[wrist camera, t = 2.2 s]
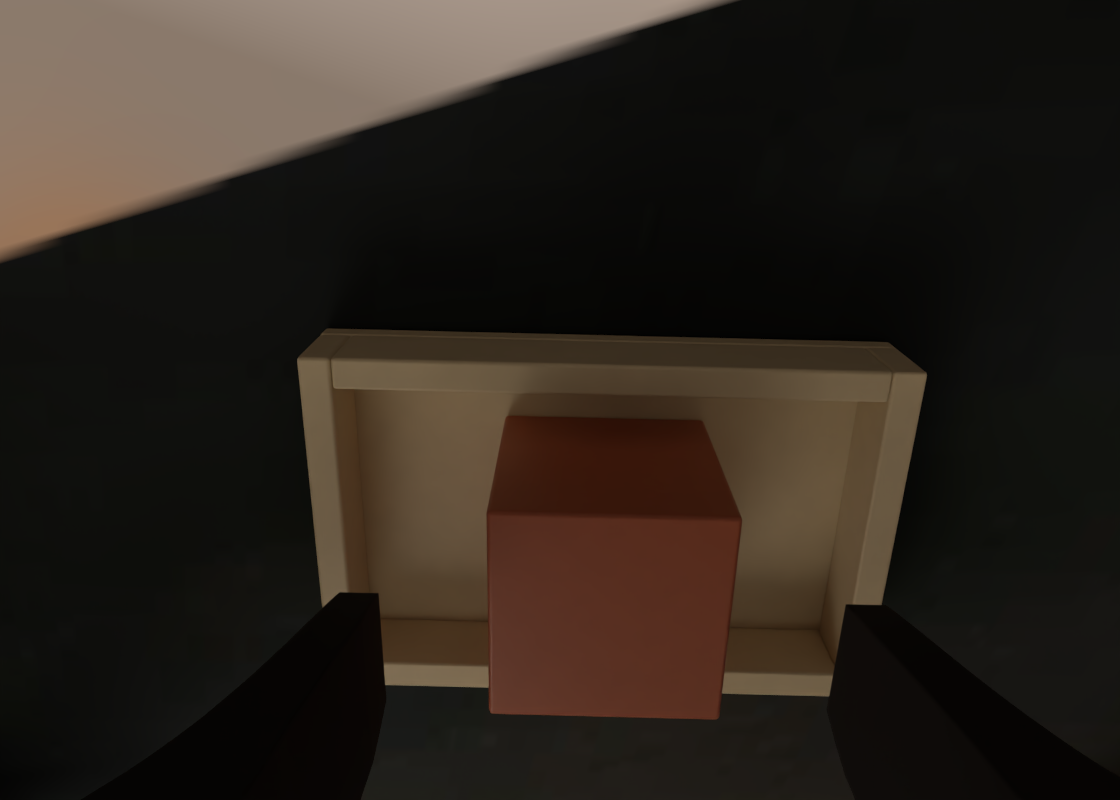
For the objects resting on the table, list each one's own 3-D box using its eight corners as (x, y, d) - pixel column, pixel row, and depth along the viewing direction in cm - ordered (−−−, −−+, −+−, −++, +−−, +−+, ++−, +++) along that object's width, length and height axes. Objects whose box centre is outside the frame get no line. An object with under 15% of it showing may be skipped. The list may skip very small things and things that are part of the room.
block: (704, 419, 16) (743, 518, 12) (688, 587, 18) (720, 721, 14) (505, 414, 16) (485, 511, 12) (505, 583, 18) (488, 715, 14)
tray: (888, 341, 16) (928, 373, 14) (836, 640, 19) (864, 698, 17) (325, 327, 16) (295, 357, 14) (352, 627, 19) (328, 684, 17)
